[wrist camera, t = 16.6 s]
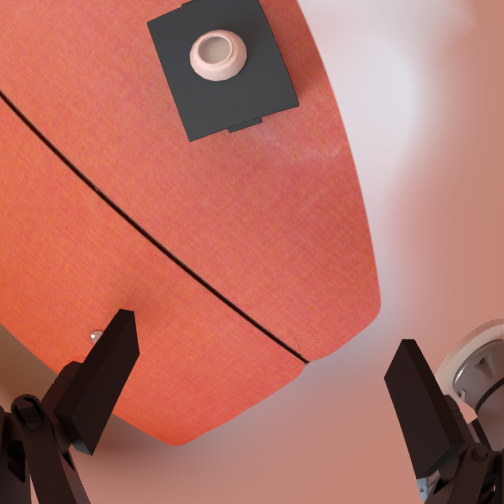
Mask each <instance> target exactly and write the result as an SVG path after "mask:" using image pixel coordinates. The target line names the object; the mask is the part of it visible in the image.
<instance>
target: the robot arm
mask: <svg viewBox="0 0 504 504" xmlns="http://www.w3.org/2000/svg"><path fill="white" fill-rule="evenodd" d="M139 355H140V352H139V346H138V339H137V331H136V324H135V315H134V311H129V310H124V309H119V311H118V312H117V313H116V315H115V316H114V318H113V319H112V321H111V322H110V323H109V325H108V326H107V328H106V329H105V331H104V332H103V333H102V335H101V336H100V338H99V339H98V341H97V342H96V344H95V345H94V347H93V348H92V350H91V351H90V353H89V354H88V356H87V357H86V359H85V360H84V362H83V363H80V362H77V361H74V360H73V361H72V362H70V363H69V364H67V365H66V366H64V368H63V369H62V371H61V372H60V373H59V376H58V377H57V378H56V379H55V381H54V384H52V385H51V387H50V388H49V390H48V391H47V393H46V394H45V396H44V397H43V399H42V400H41V402H40V401H39V399H38V398H36V397H35V396H33V395H30V394H25V395H21V396H19V397H17V398H16V399H15V400H14V401H13V403H12V405H11V412H12V413H8V412H5V411H4V409H3V408H2V407H1V406H0V504H32V503H31V489H30V475H31V479H32V482H33V486H34V489H35V492H36V496H37V498H38V502H39V504H91V503H90V501H89V499H88V497H87V494H86V492H85V490H84V487H83V485H82V482H81V480H80V478H79V475H78V472H77V470H76V467H75V465H74V462H73V459H72V456H71V453H70V451H69V450H68V449H69V447H70V445H71V443H72V444H73V446H74V448H75V449H76V450H78V451H80V452H83V453H86V454H88V455H91V456H92V455H93V453H94V451H95V448H96V446H97V444H98V441H99V439H100V437H101V435H102V432H103V430H104V428H105V426H106V423H107V421H108V419H109V417H110V415H111V413H112V411H113V408H114V406H115V404H116V402H117V400H118V398H119V396H120V393H121V391H122V389H123V387H124V385H125V383H126V381H127V379H128V377H129V375H130V373H131V371H132V369H133V367H134V365H135V363H136V361H137V359H138V357H139ZM384 379H385V382H386V385H387V388H388V391H389V394H390V397H391V399H392V402H393V405H394V408H395V411H396V414H397V417H398V420H399V423H400V426H401V429H402V432H403V435H404V439H405V442H406V445H407V448H408V452H409V455H410V458H411V461H412V465H413V469H414V472H415V475H416V479H417V485H418V488H419V489H420V495H421V497H422V499H423V500H424V502H425V503H424V504H504V340H500V339H498V340H493V341H490V342H488V343H486V344H484V345H483V346H481V347H480V348H478V349H477V350H476V351H474V352H473V353H472V354H471V355H470V356H469V357H468V358H467V359H466V360H465V361H464V362H463V363H462V365H461V366H460V367H459V369H458V370H457V372H456V374H455V376H454V378H453V383H452V386H453V389H454V391H455V393H456V394H457V396H458V397H459V398H461V400H462V401H463V402H465V403H467V404H468V405H469V406H470V407H472V408H473V409H474V411H475V412H476V414H477V416H478V417H477V418H476V419H475V420H473V421H472V422H470V423H469V424H467V423H466V421H465V419H464V418H463V415H462V413H461V412H460V409H459V407H458V405H457V403H456V401H455V400H454V399H453V398H452V397H451V396H450V395H449V394H448V395H443V393H442V391H441V389H440V387H439V385H438V383H437V381H436V379H435V377H434V375H433V373H432V371H431V369H430V367H429V365H428V363H427V362H426V360H425V358H424V356H423V354H422V352H421V350H420V348H419V347H418V345H417V343H416V341H415V340H414V339H402V341H401V343H400V346H399V347H398V350H397V352H396V354H395V356H394V358H393V360H392V362H391V364H390V366H389V369H388V371H387V373H386V375H385V377H384ZM494 486H495V491H494Z"/></svg>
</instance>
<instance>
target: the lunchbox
mask: <svg viewBox="0 0 504 504" xmlns="http://www.w3.org/2000/svg"><path fill="white" fill-rule="evenodd" d="M147 25H148V28H149V31H150V34H151V37H152V40H153V42H154V45H155V48H156V51H157V54H158V57H159V59H160V62H161V65H162V68H163V71H164V73H165V76H166V79H167V82H168V85H169V87H170V90H171V93H172V96H173V98H174V101H175V104H176V107H177V109H178V112H179V115H180V117H181V120H182V123H183V126H184V128H185V131H186V134H187V136H188V139H189V142H192V141H195V140H197V139H200V138H203V137H205V136H208V135H211V134H213V133H216V132H219V131H222V130H224V129H227V128H228V131H229V133H232V132H235V131H238V130H241V129H244V128H247V127H250V126H253V125H256V124H259V123H262V119H261V117H264V116H267V115H270V114H273V113H277V112H280V111H284V110H287V109H291V108H294V107H298V106H299V102H298V99H297V96H296V94H295V91H294V88H293V85H292V82H291V79H290V77H289V74H288V71H287V69H286V66H285V63H284V61H283V58H282V55H281V53H280V50H279V48H278V45H277V43H276V40H275V38H274V35H273V33H272V30H271V28H270V25H269V23H268V21H267V18H266V16H265V14H264V11H263V9H262V7H261V5H260V2H259V0H191V1H189V2H186V3H184V4H182V7H180V8H178V9H175V10H173V11H171V12H168V13H166V14H164V15H162V16H159V17H157V18H155V19H153V20H151V21H149V22H147ZM215 30H226V31H230V32H233V33H234V34H236V35H237V36H239V37H240V38H241V39H242V41H243V43H244V44H245V46H246V52H247V58H246V61H245V64H244V67H243V68H242V69H241V70H240V71H239V72H238V73H237V74H236V75H235V76H233V77H231V78H229V79H227V80H220V81H213V80H208V79H205V78H203V77H202V76H200V75H199V74H197V73H196V72H195V70H194V69H193V67H192V65H191V63H190V52H191V49H192V46H193V44H194V43H195V42H196V41H197V39H198V38H199V37H200V36H202V35H204V34H206V33H208V32H210V31H215Z"/></svg>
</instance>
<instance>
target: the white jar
mask: <svg viewBox="0 0 504 504" xmlns="http://www.w3.org/2000/svg"><path fill="white" fill-rule="evenodd" d="M246 58H247V52H246V46H245V44H244V43H243V41H242V39H241V38H240V37H239V36H237V35H236V34H234V33H233V32H230V31H226V30H215V31H210V32H208V33H206V34H204V35H202V36H200V37H199V38H198V39H197V41H196V42H195V43H194V44H193V46H192V49H191V52H190V63H191V65H192V67H193V69H194V70H195V72H196V73H197V74H199V75H200V76H202V77H203V78H205V79H208V80H213V81H220V80H227V79H229V78H231V77H233V76H235V75H236V74H237V73H238V72H239V71H240V70H241V69H242V68H243V67H244V64H245V61H246Z"/></svg>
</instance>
